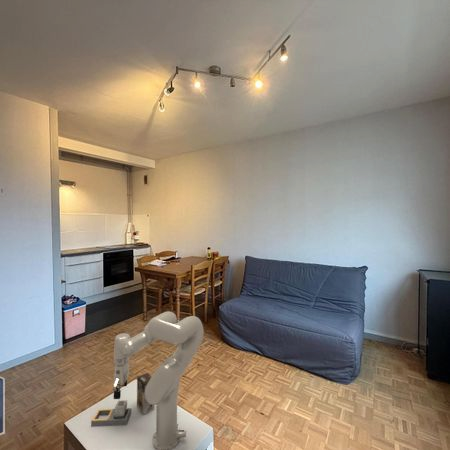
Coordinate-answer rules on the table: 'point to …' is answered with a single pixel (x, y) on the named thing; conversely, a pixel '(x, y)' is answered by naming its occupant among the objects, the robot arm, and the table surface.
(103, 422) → the frame with rectangular openings
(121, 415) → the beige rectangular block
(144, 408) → the coffee box
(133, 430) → the table surface
